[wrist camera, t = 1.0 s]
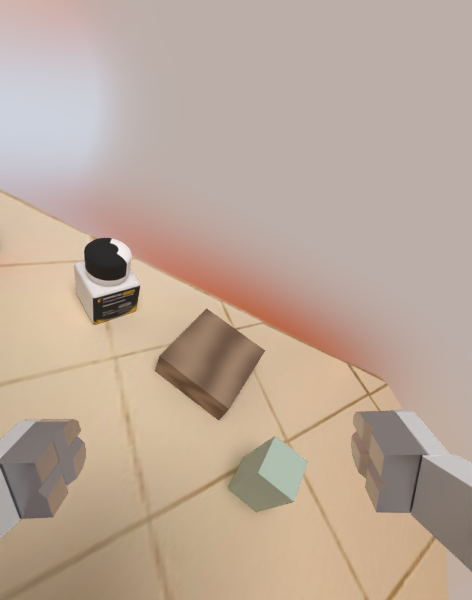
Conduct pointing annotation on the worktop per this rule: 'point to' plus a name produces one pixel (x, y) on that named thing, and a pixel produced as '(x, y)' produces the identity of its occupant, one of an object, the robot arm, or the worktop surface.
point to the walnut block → (210, 363)
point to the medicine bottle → (106, 280)
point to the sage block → (269, 476)
